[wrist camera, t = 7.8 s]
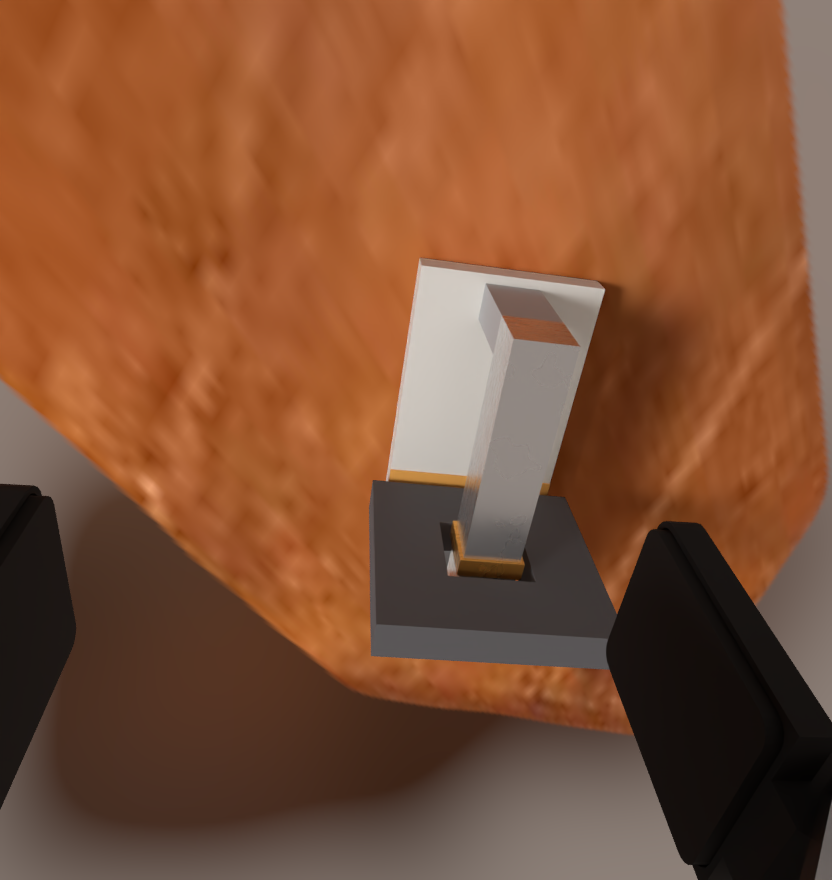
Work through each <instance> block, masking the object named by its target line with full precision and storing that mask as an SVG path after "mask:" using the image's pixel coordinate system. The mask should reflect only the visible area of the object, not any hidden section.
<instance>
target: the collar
mask: <svg viewBox="0 0 832 880" xmlns="http://www.w3.org/2000/svg"><path fill="white" fill-rule="evenodd" d="M463 492H464V488H456V487H445V486H433V485H422V484H411V483H400V482H388V481H377V480H373V484H372V491H371V498H370V505H369V533H370V614H371V656H380V657H398V658H415V659H433V660H451V661H468V662H486V663H504V664H521V665H539V666H557V667H574V668H592V669H609V666H608V663H607V658H606V645H607V641H608V638H609V635H610V633H611V630H612V627H613V625H614V622H615V619H616V617H617V614H616V611H615V609H614V607H613V605H612V602H611V600H610V598H609V596H608V593H607V591H606V589H605V587H604V584H603V582H602V580H601V578H600V575H599V573H598V571H597V569H596V566H595V564H594V562H593V559H592V557H591V555H590V553H589V550H588V548H587V546H586V544H585V541H584V539H583V537H582V535H581V532H580V530H579V528H578V526H577V523H576V521H575V519H574V517H573V514H572V512H571V510H570V508H569V505H568V503H567V501H566V499H565V497H557V496H546V495H539V497H538V501H537V504H536V508H535V512H534V515H533V519H532V522H531V526H530V530H529V533H528V537H527V540H526V544H525V547H524V551H523V555H522V557H523V561H524V564H525V566H524V570H523V573H522V577H521V580H518V581H512V580H498V579H484V578H470V577H456V576H448V573H447V567H446V560H445V554H444V551H451V548H452V545H451V539H450V532H451V527H452V522H453V521H457V520H458V515H459V511H460V506H461V501H462V497H463Z"/></svg>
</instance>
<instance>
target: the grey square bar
mask: <svg viewBox="0 0 832 880" xmlns="http://www.w3.org/2000/svg"><path fill="white" fill-rule="evenodd" d="M579 350H580V345H579V344H578V342H577V341H576V340H575V338H574V337H573V335H572V334H571V333H570V331H569V330H568V328H567V327H566V326H565V324H564V323H562V322H554V321H546V320H537V319H529V318H521V317H513V316H505V315H502V316H501V321H500V325H499V330H498V335H497V339H496V344H495V349H494V353H493V358H492V362H491V367H490V372H489V376H488V381H487V386H486V390H485V395H484V399H483V404H482V409H481V413H480V418H479V423H478V427H477V432H476V437H475V441H474V446H473V450H472V455H471V460H470V464H469V469H468V474H467V478H466V483H465V487H464V492H463V497H462V501H461V506H460V511H459V515H458V520H457V521H453V522H452V527H451V532H450V539H451V545H452V548H451V552H450V557H449V562H448V566H447V573H448V576H456V577H470V578H484V579H498V580H512V581H515V580H521V577H522V573H523V570H524V566H525V564H524V561H523V557H522V555H523V551H524V547H525V544H526V540H527V537H528V533H529V530H530V526H531V522H532V519H533V515H534V512H535V508H536V504H537V501H538V497H539V494H540V490H541V487H542V483H543V479H544V476H545V472H546V469H547V465H548V461H549V458H550V454H551V451H552V447H553V444H554V440H555V436H556V433H557V429H558V426H559V422H560V418H561V415H562V411H563V408H564V404H565V401H566V397H567V393H568V390H569V386H570V383H571V379H572V375H573V372H574V368H575V365H576V361H577V358H578V354H579Z"/></svg>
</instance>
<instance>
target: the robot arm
mask: <svg viewBox="0 0 832 880" xmlns="http://www.w3.org/2000/svg"><path fill="white" fill-rule="evenodd" d="M75 634H76V623H75V617H74V611H73V607H72V600H71V595H70V590H69V584H68V578H67V573H66V567H65V562H64V556H63V551H62V545H61V540H60V535H59V529H58V523H57V518H56V513H55V507H54V503H53V500H52V499H51V497H49V496H42V495H41V491H40V490H39V488H38V487H36V486H30V485H11V484H0V809H1V807H2V804H3V802H4V800H5V797H6V795H7V793H8V791H9V789H10V787H11V784H12V782H13V780H14V778H15V775H16V773H17V771H18V768H19V766H20V764H21V762H22V760H23V757H24V755H25V753H26V751H27V748H28V746H29V744H30V742H31V740H32V737H33V735H34V733H35V730H36V728H37V726H38V724H39V721H40V719H41V717H42V715H43V712H44V710H45V708H46V706H47V703H48V701H49V699H50V697H51V695H52V692H53V690H54V688H55V686H56V683H57V681H58V679H59V677H60V675H61V672H62V670H63V668H64V665H65V663H66V661H67V659H68V657H69V654H70V652H71V650H72V647H73V644H74V640H75ZM606 658H607V663H608V666H609V669H610V672H611V674H612V677H613V680H614V682H615V685H616V688H617V690H618V693H619V696H620V698H621V701H622V704H623V706H624V709H625V712H626V714H627V717H628V720H629V722H630V725H631V728H632V730H633V733H634V736H635V738H636V741H637V743H638V746H639V749H640V751H641V754H642V757H643V759H644V762H645V765H646V767H647V770H648V773H649V775H650V778H651V781H652V783H653V786H654V789H655V791H656V794H657V797H658V799H659V802H660V805H661V807H662V810H663V813H664V815H665V818H666V820H667V823H668V826H669V829H670V831H671V834H672V837H673V839H674V842H675V844H676V847H677V850H678V852H679V854H680V857H681V858H682V860H683V861H684V862H685V863H686V864H688V865H693V868H694V870H695V873H696V876H697V878H698V880H832V722H831V720H830V719H829V717H828V716H827V714H826V713H825V711H824V710H823V708H822V707H821V705H820V703H819V702H818V700H817V699H816V697H815V696H814V695H813V693H812V691H811V690H810V688H809V687H808V685H807V684H806V682H805V681H804V679H803V678H802V676H801V675H800V673H799V672H798V670H797V669H796V667H795V666H794V664H793V662H792V661H791V659H790V658H789V656H788V655H787V653H786V652H785V650H784V649H783V647H782V646H781V644H780V643H779V641H778V640H777V638H776V637H775V635H774V634H773V632H772V631H771V629H770V627H769V626H768V625H767V623H766V621H765V620H764V618H763V617H762V615H761V614H760V612H759V611H758V609H757V608H756V606H755V605H754V603H753V602H752V600H751V599H750V597H749V596H748V594H747V593H746V591H745V589H744V588H743V586H742V585H741V583H740V582H739V580H738V579H737V577H736V576H735V574H734V573H733V571H732V570H731V568H730V567H729V565H728V564H727V562H726V561H725V559H724V558H723V556H722V555H721V553H720V551H719V550H718V548H717V547H716V545H715V544H714V542H713V541H712V539H711V538H710V536H709V535H708V533H707V532H706V530H705V529H704V528H703V526H702V525H701V524H698V523H689V522H671V521H665V522H662V523H661V524H660V525H659V526H658V528H657V529H653V530H651V531H650V532H649V533H648V535H647V537H646V539H645V542H644V545H643V547H642V550H641V553H640V555H639V558H638V561H637V563H636V566H635V569H634V571H633V574H632V577H631V579H630V582H629V585H628V587H627V590H626V593H625V595H624V598H623V601H622V603H621V606H620V609H619V611H618V614H617V617H616V619H615V622H614V625H613V627H612V630H611V633H610V635H609V638H608V641H607V645H606Z"/></svg>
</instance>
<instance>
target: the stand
mask: <svg viewBox="0 0 832 880" xmlns="http://www.w3.org/2000/svg"><path fill="white" fill-rule="evenodd" d="M604 292H605V288H604V287H603V286H602V285H601V284H600V283H599V282H598V281H594V280H586V279H579V278H571V277H563V276H556V275H548V274H540V273H533V272H525V271H518V270H510V269H502V268H495V267H487V266H480V265H472V264H464V263H457V262H449V261H441V260H434V259H426V258H419V265H418V272H417V278H416V285H415V292H414V298H413V305H412V312H411V318H410V325H409V331H408V338H407V345H406V351H405V358H404V365H403V371H402V378H401V385H400V391H399V398H398V404H397V411H396V418H395V424H394V431H393V438H392V444H391V451H390V458H389V464H388V471H387V478H386V481H388V482H400V483H411V484H422V485H433V486H445V487H456V488H464V487H465V483H466V478H467V474H468V469H469V464H470V460H471V455H472V450H473V446H474V441H475V437H476V432H477V427H478V423H479V418H480V413H481V409H482V404H483V399H484V395H485V390H486V386H487V381H488V376H489V372H490V367H491V362H492V358H493V353H494V349H495V344H496V339H497V335H498V330H499V325H500V321H501V316H502V315H505V316H513V317H521V318H529V319H537V320H546V321H554V322H562V323H564V324H565V326H566V327H567V328H568V330H569V331H570V333H571V334H572V335H573V337H574V338H575V340H576V341H577V342H578V344H579V345H580V350H579V354H578V358H577V361H576V365H575V368H574V372H573V375H572V379H571V383H570V386H569V390H568V393H567V397H566V401H565V404H564V408H563V411H562V415H561V418H560V422H559V426H558V429H557V433H556V436H555V440H554V444H553V447H552V451H551V454H550V458H549V461H548V465H547V469H546V472H545V476H544V479H543V483H542V487H541V490H540V494H539V495H546V496H547V494H548V490H549V487H550V481H551V478H552V474H553V471H554V467H555V464H556V460H557V457H558V453H559V450H560V446H561V443H562V439H563V436H564V432H565V429H566V425H567V422H568V418H569V415H570V411H571V408H572V404H573V401H574V397H575V394H576V390H577V387H578V383H579V380H580V376H581V373H582V369H583V366H584V362H585V359H586V355H587V352H588V348H589V345H590V341H591V338H592V334H593V331H594V327H595V323H596V320H597V316H598V313H599V309H600V306H601V302H602V299H603V295H604ZM450 552H451V551H444V554H445V560H446V567H447V566H448V562H449V557H450Z"/></svg>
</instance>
